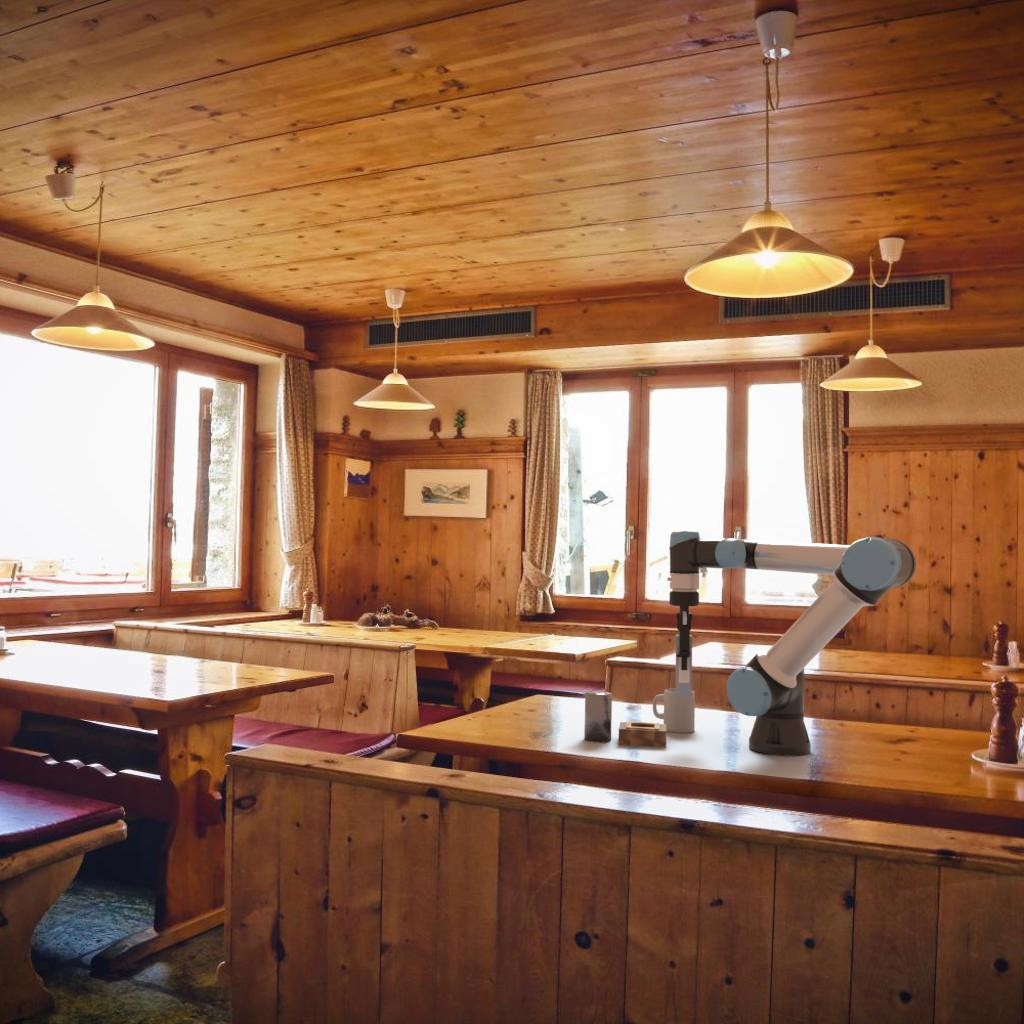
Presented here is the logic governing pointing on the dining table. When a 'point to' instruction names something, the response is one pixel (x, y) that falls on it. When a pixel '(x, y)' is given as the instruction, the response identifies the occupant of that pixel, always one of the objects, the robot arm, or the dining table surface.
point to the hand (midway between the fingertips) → (683, 681)
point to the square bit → (680, 687)
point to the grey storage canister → (598, 716)
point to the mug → (676, 711)
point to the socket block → (642, 734)
